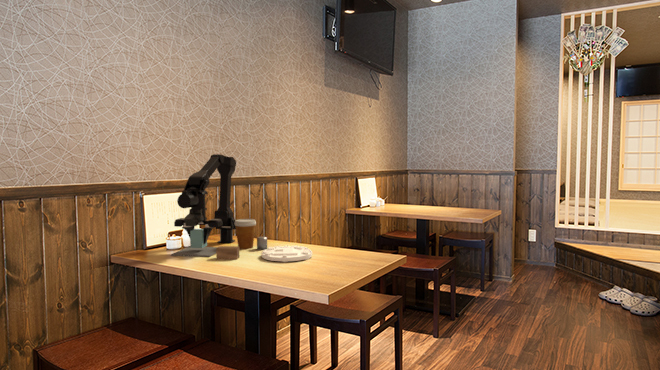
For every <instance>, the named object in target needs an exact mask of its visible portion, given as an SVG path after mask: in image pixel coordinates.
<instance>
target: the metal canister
mask: <svg viewBox="0 0 660 370" xmlns="http://www.w3.org/2000/svg"><path fill="white" fill-rule="evenodd" d="M264 249H266V250H267V249H268V237H267V236H258V237H256V250H258V251H263V250H264Z"/></svg>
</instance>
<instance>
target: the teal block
mask: <svg viewBox="0 0 660 370" xmlns="http://www.w3.org/2000/svg"><path fill="white" fill-rule="evenodd" d="M189 241H190V244H189V245H190V248H203V247H208V241H207V242H206V244H204V230H203V228H194V230H191V231H190V237H189Z"/></svg>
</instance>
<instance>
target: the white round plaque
mask: <svg viewBox="0 0 660 370" xmlns="http://www.w3.org/2000/svg"><path fill="white" fill-rule="evenodd" d="M312 256H313V251H312V250H311V248H309V247H306V246H302V245H300V246H299V245H291V246H290V245H283V246H282V245H275V246H273V247H272V246H268V247H267V249H264V250H261V258H262V259H264V260H266V261H272V262H274V261H275V262H283V263H288V262H296V261H297V262H299V261H306V260H310V258H311V257H312Z"/></svg>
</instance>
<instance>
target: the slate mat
mask: <svg viewBox="0 0 660 370" xmlns="http://www.w3.org/2000/svg"><path fill="white" fill-rule="evenodd" d="M217 247H218V246H217ZM217 247H216V246H205V247H203V248H190V246H189V245H188V246H187V247H185V248H182V249H180V250H177V251H176V252H173V253H171V254H170V257H171V256H172V257H197V258H199V257H200V258H211V257H212V256H214V255H216V248H217Z"/></svg>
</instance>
